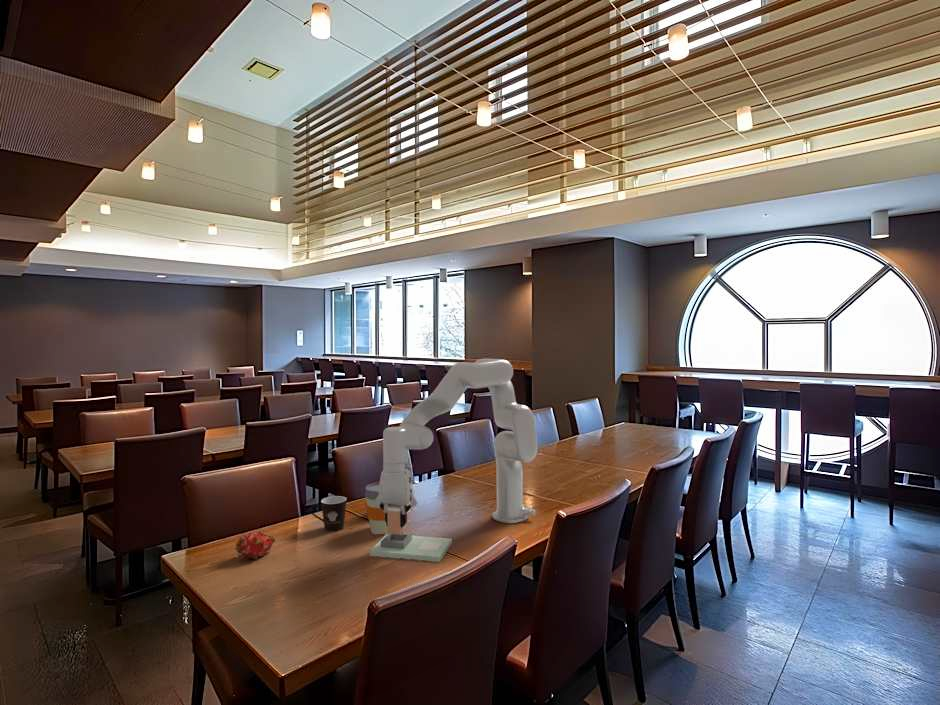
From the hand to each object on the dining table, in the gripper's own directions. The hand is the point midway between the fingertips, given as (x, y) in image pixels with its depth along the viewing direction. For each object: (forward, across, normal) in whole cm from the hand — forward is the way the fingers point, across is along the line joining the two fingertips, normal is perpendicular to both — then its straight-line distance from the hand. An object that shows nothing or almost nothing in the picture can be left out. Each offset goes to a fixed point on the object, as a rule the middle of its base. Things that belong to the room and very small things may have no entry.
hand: (396, 524), depth 158 cm
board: (+7, -5, 0) cm, 9 cm away
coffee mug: (+8, +29, -12) cm, 32 cm away
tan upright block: (+2, 0, 0) cm, 2 cm away
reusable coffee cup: (+8, +10, -14) cm, 19 cm away
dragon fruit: (+8, +40, +14) cm, 43 cm away
